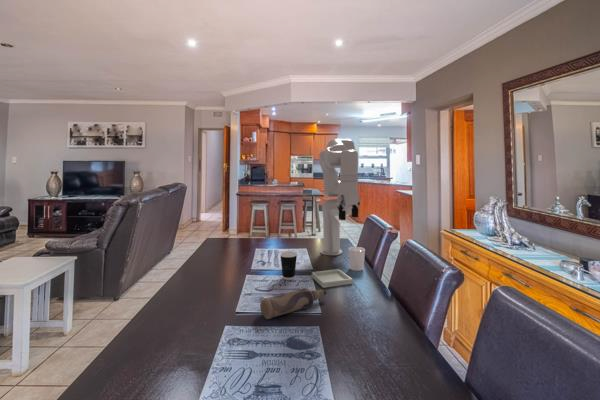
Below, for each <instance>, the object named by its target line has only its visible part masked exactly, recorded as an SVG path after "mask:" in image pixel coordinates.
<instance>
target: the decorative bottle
mask: <svg viewBox="0 0 600 400" xmlns="http://www.w3.org/2000/svg"><path fill="white" fill-rule="evenodd" d="M327 294H328V291H327V290H325V289H324V290H323V289H318V290H315V289H314V290H310V289H308V288H302V289H298V290H294V291H289V292H286V293H281V294H277V295H274V296H271V297H265V298H263V299H261V300H260V303H259V306H260V307H259V308H260V313H261V315H262V316H264V317H265V318H266V319H265V318H264V317H263V318H264V319H265V320H270V319H273V318H275V317H281V316H282V315H286V314H289V313H292V312H296V311H299V310H302V309H303V310H305V309H306V310H307V309H308V308H310V307H311V306H313V305H314V302H315V301H317V300H319V299H321V298H323V297H324V296H325V295H327ZM309 306H310V307H309ZM307 307H308V308H307Z"/></svg>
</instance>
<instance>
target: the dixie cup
mask: <svg viewBox="0 0 600 400" xmlns="http://www.w3.org/2000/svg"><path fill="white" fill-rule="evenodd" d="M279 256H280V264H281V271H282V277H283V279H284V280H286V281H287V280H288V281H289V280H294V279H295V276H296V269H297V268H296V267H297V258H298V257H297V256H298V253H297V252H295V251H283V252H280V254H279Z"/></svg>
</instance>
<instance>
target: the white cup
mask: <svg viewBox="0 0 600 400" xmlns="http://www.w3.org/2000/svg"><path fill="white" fill-rule="evenodd" d="M365 257H366V249H365V248H364V247H361V246H351V247H348V262H349V270H352V271H353V272H355V271H357V272H359V271H363V270H364V267H365V266H364V265H365Z"/></svg>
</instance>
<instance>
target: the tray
mask: <svg viewBox="0 0 600 400" xmlns="http://www.w3.org/2000/svg"><path fill="white" fill-rule="evenodd" d="M311 278H313V279H314V281H316V283H317V284H318V285H320V286H321V288H323V289H325V288H331V287H339V286H344V285H352V284H353V281H354V280H353V278H352V277H351V276H349V275H348V274H346V273H345V272H344V271H342V270H341V269H339V268H337V269H328V270H320V271H319V270H318V271H311Z"/></svg>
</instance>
